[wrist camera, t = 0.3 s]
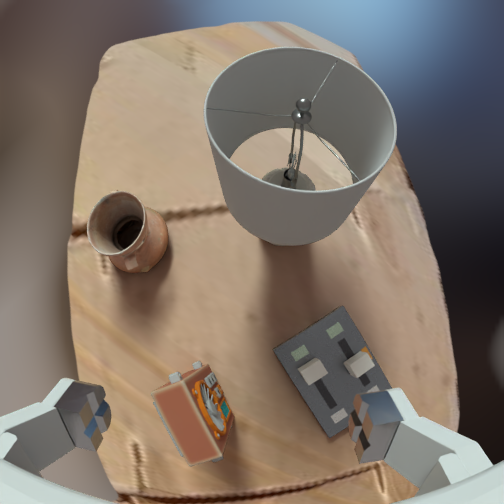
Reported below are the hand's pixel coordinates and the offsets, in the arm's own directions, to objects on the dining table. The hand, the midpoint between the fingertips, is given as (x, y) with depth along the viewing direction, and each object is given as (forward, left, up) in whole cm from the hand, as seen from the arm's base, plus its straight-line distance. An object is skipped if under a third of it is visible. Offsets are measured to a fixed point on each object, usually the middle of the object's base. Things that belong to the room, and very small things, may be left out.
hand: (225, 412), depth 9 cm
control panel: (-5, +14, -53) cm, 55 cm away
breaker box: (-14, -10, -53) cm, 56 cm away
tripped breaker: (-14, -14, -50) cm, 54 cm away
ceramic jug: (+31, +11, -53) cm, 63 cm away
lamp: (+18, -17, -53) cm, 59 cm away
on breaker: (-10, -6, -50) cm, 51 cm away
